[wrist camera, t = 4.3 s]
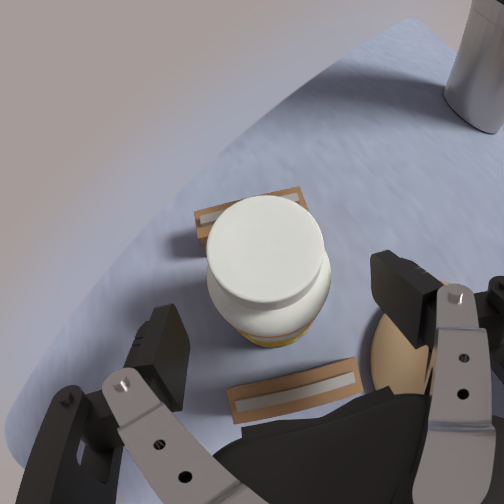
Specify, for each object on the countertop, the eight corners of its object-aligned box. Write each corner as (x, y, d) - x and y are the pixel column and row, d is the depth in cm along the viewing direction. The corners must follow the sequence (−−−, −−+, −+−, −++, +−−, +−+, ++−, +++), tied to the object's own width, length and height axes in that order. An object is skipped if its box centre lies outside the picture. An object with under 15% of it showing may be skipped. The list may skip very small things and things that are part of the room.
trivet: (461, 269, 18) (466, 265, 17) (493, 385, 13) (499, 385, 13) (352, 308, 18) (355, 305, 17) (386, 446, 13) (390, 448, 13)
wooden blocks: (297, 210, 21) (299, 182, 18) (350, 387, 16) (366, 391, 12) (204, 232, 21) (192, 208, 18) (241, 415, 16) (232, 425, 12)
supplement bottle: (319, 343, 17) (358, 314, 8) (234, 351, 17) (186, 333, 8) (308, 263, 19) (327, 173, 10) (229, 272, 19) (188, 189, 11)
